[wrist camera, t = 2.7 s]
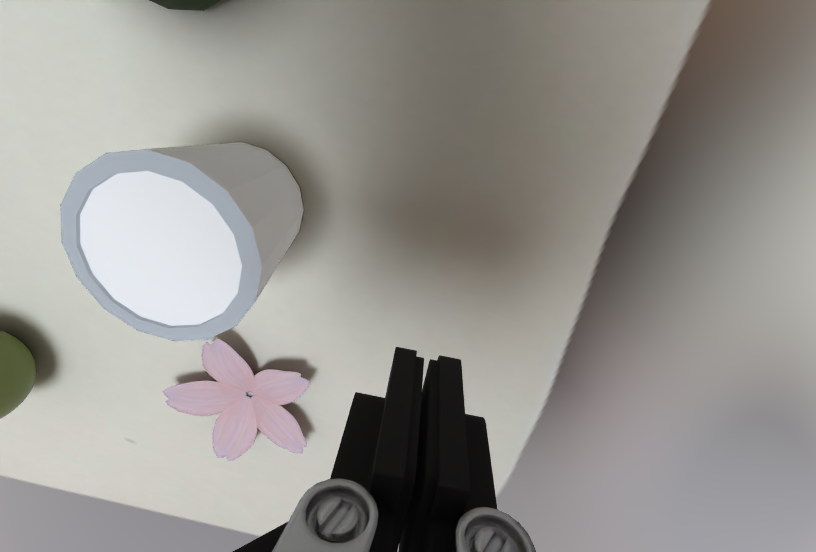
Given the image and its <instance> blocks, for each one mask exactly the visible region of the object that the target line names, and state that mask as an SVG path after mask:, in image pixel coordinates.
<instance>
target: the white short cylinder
mask: <svg viewBox="0 0 816 552" xmlns="http://www.w3.org/2000/svg"><path fill="white" fill-rule="evenodd" d="M303 211H304V209H303V204H302V198H301V193H300V188H299V186H298V184H297V183H296V181H295V179H294V178H293V176H292V174H291V173H290V171H289V170H288V168H287V166H286V165H285V164H283V163H282V162H281V161H280V160H278V159H277V158H276V157H275V156H273V155H272V154H271V153H269V152H268V151H267V150H265V149H262V148H259V147H256V146H253V145H250V144H246V143H243V142H239V143H225V144H211V145H197V146H183V147H169V148H155V149H142V150H132V151H121V152H111V153H105V154H104V155H102V156H101V157H99V158H98V159H96V160H95V161H93V162H92V163H90V164H89V165H87V166H86V167H84V168H83V169H81V170H80V171H78V172H77V173H75V175H74V178H73V180H72V182H71V184H70V186H69V188H68V190H67V192H66V194H65V196H64V199H63V201H62V203H61V236H62V244H63V246H64V248H65V251H66V253H67V255H68V258H69V260H70V262H71V265H72V267H73V269H74V272H75V274H76V276H77V278H78V280H79V281H80V282H81V283H82V284H83V285H84V286H85V288H86V289H87V290H88V291H89V292H90V293H91V294H92V296H93V297H94V298H95V299H96V300H97V301H98V303H99V304H100V305H101V306H102V307H103V308H104V309H105V310H107V311H108V312H110V313H111V314H113V315H114V316H116V317H117V318H119V319H121V320H122V321H124V322H125V323H127V324H128V325H130V326H131V327H133V328H134V329H136V330H138V331H141V332H144V333H148V334H151V335H155V336H158V337H162V338H165V339H168V340H172V341H184V340H207V339H210V338H212V337H214V336H216V335H218V334H220V333H222V332H225V331H227V330H229V329H231V328H233V327H235V326H237V325H238V323H239V322H240V321H241V319H242V318H243V317H244V316H245V314H246V313H247V312H248V310H249V309H250V308H251V306H252V305H253V304H254V303H255V301H256V300H257V298H258V297H259V295H260V293H261V292H262V290H263V289H264V287H265V285H266V284H267V282H268V280H269V279H270V277H271V276H272V274H273V272H274V271H275V269H276V268H277V266H278V264H279V263H280V261H281V260H282V258H283V256H284V255H285V253H286V251H287V250H288V248H289V247H290V245H291V243H292V242H293V240H294V239H295V237H296V235H297V234H298V232H299V230H300V225H301V221H302V216H303Z"/></svg>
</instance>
